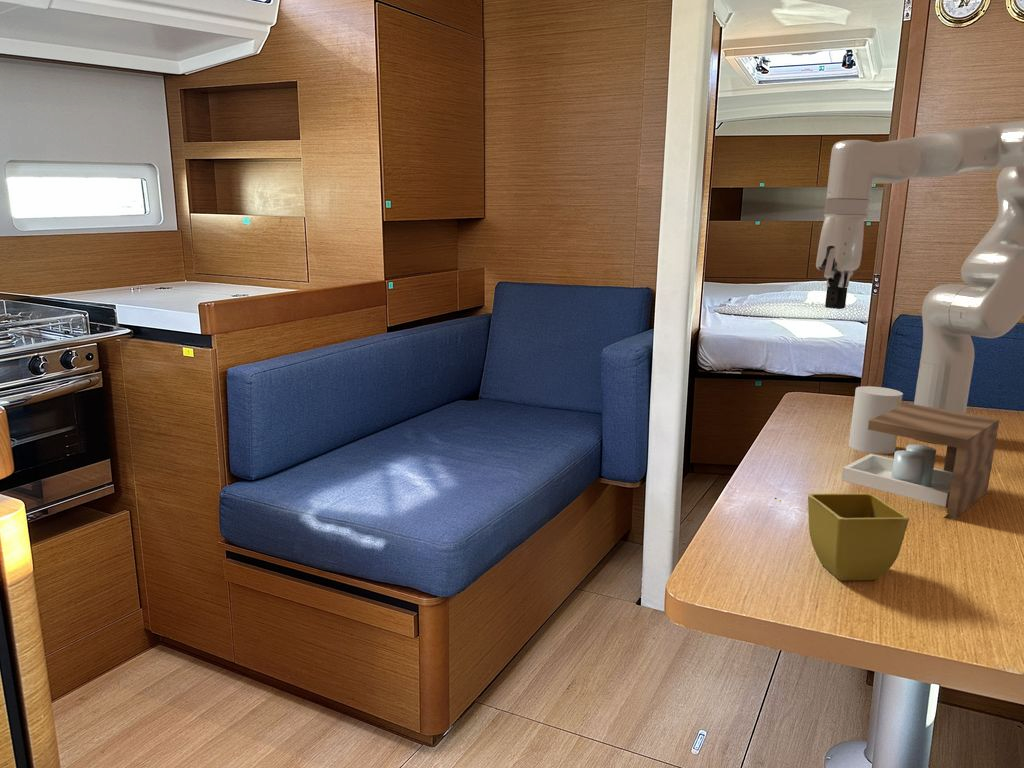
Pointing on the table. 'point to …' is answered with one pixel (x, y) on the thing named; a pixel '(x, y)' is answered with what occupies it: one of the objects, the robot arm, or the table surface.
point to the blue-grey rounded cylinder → (908, 466)
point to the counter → (949, 446)
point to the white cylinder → (866, 408)
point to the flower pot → (855, 534)
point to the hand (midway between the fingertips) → (834, 307)
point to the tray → (878, 476)
